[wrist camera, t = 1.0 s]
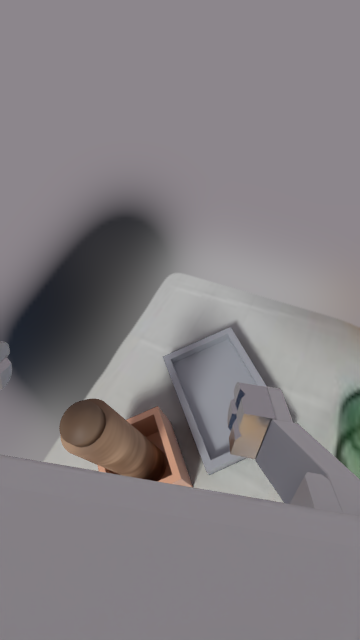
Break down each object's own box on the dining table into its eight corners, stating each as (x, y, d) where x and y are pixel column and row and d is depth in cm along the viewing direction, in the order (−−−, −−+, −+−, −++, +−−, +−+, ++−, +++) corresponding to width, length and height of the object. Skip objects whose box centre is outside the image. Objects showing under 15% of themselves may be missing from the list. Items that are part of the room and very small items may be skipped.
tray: (231, 335, 50) (230, 326, 48) (292, 436, 39) (294, 431, 37) (166, 363, 49) (162, 356, 47) (209, 475, 38) (206, 471, 36)
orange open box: (170, 422, 43) (157, 405, 38) (193, 487, 38) (181, 479, 32) (114, 447, 43) (92, 434, 38) (128, 517, 38) (105, 513, 32)
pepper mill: (160, 440, 41) (101, 385, 26) (171, 476, 38) (111, 436, 23) (128, 454, 41) (50, 407, 26) (137, 491, 38) (55, 462, 23)
